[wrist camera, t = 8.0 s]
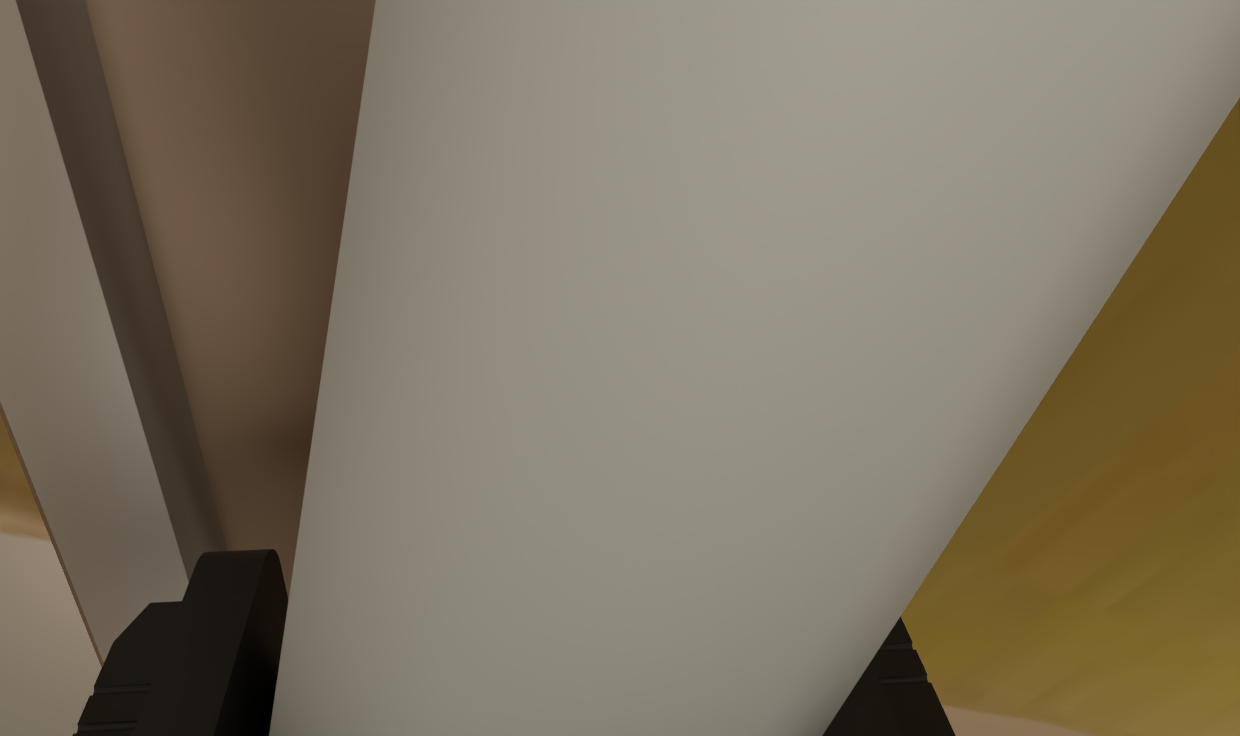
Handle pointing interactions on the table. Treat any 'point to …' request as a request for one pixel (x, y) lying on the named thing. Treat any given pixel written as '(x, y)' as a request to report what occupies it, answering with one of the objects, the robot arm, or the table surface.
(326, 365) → the tube
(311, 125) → the stand
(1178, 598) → the table surface
